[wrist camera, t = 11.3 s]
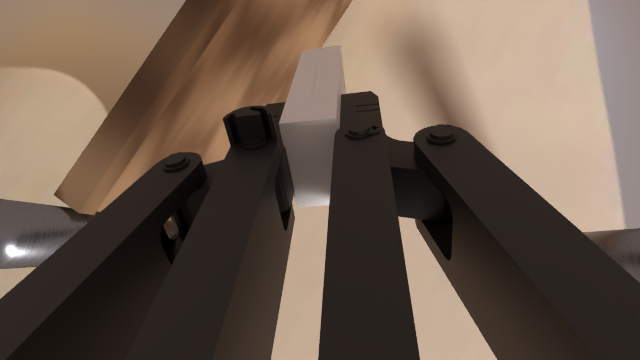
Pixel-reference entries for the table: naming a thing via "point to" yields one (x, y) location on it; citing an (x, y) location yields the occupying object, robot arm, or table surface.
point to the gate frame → (62, 223)
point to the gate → (197, 89)
